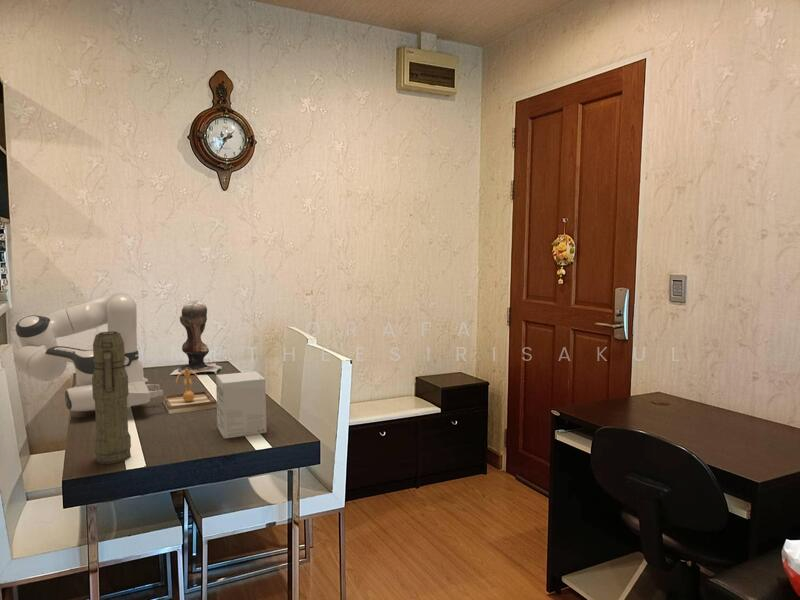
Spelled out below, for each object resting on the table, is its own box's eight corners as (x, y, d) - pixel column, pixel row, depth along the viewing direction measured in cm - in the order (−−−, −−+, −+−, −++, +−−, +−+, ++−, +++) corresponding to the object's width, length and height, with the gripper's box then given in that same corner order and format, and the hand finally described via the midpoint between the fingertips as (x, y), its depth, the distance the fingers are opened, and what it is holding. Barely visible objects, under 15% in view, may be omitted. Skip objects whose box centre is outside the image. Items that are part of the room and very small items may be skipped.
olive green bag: (96, 468, 150) (90, 336, 147) (94, 454, 160) (88, 331, 157) (133, 462, 154) (128, 334, 151) (129, 448, 164) (124, 329, 161)
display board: (162, 402, 215) (162, 395, 215) (206, 396, 223) (206, 390, 223) (169, 414, 199) (168, 407, 199) (216, 408, 207) (215, 401, 207)
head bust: (225, 362, 288) (220, 294, 281) (218, 378, 263) (213, 304, 257) (179, 365, 284) (174, 296, 278) (168, 381, 260) (162, 306, 253)
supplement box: (257, 421, 191) (256, 370, 189) (267, 433, 179) (266, 378, 178) (216, 427, 185) (215, 374, 183) (223, 439, 173) (222, 382, 172)
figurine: (177, 404, 206) (176, 371, 205) (175, 400, 212) (174, 368, 211) (201, 401, 210) (200, 369, 209) (198, 397, 216) (197, 366, 215)
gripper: (117, 396, 208) (158, 392, 215) (120, 410, 190) (165, 404, 197) (116, 379, 207) (157, 375, 214) (120, 391, 190) (164, 386, 196)
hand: (161, 389), depth 205 cm, fingers open, 8 cm apart
